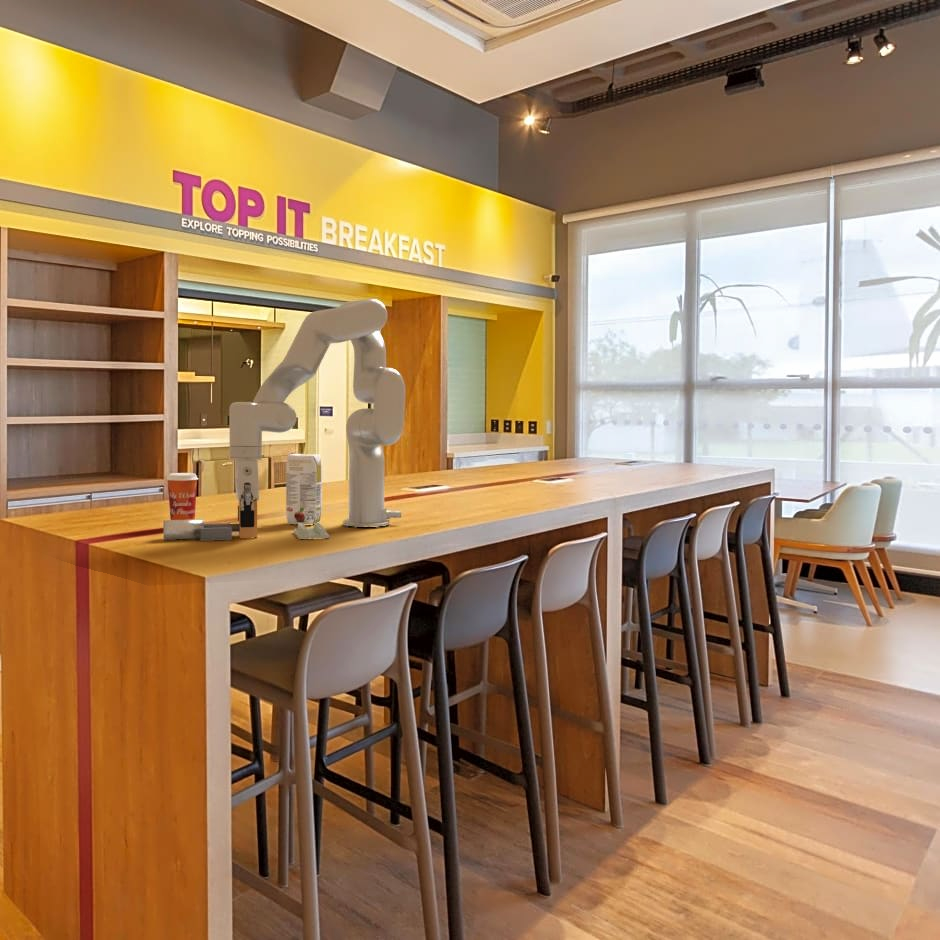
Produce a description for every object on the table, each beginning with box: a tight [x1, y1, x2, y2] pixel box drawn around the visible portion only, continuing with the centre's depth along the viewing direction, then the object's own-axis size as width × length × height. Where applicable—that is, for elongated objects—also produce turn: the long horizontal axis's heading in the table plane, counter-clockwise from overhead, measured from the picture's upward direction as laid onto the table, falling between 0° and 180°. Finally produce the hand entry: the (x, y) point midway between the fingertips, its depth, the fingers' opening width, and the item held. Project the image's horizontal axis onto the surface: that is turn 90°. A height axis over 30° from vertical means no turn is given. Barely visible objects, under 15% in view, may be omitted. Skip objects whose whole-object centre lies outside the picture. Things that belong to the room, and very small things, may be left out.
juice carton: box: [285, 453, 323, 525], centre depth 214 cm, size 8×9×19 cm
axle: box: [162, 518, 205, 541], centre depth 187 cm, size 9×5×5 cm, turn 110°
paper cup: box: [166, 472, 199, 520], centre depth 203 cm, size 8×8×14 cm
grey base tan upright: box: [204, 498, 258, 539], centre depth 190 cm, size 12×4×9 cm, turn 110°
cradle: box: [293, 522, 330, 540], centre depth 195 cm, size 7×11×2 cm, turn 20°
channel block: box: [200, 522, 233, 542], centre depth 189 cm, size 7×8×3 cm
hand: (245, 524), depth 192 cm, fingers open, 9 cm apart
